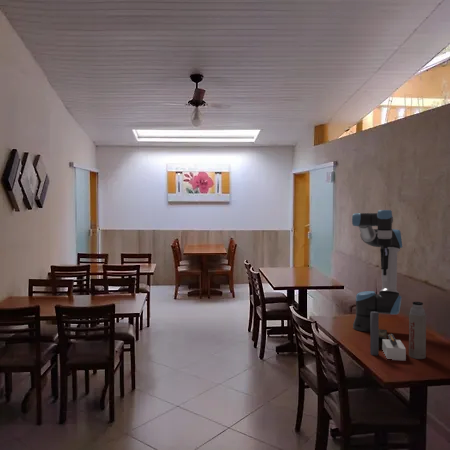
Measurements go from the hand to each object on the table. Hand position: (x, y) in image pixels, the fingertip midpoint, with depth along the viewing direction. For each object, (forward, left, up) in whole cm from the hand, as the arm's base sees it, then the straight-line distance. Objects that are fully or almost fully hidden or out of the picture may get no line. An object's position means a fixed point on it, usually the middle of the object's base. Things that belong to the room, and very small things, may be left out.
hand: (384, 280), depth 247 cm
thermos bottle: (+16, +14, -36) cm, 42 cm away
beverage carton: (-4, -2, -37) cm, 37 cm away
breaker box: (+16, +2, -36) cm, 40 cm away
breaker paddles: (+16, +2, -30) cm, 34 cm away
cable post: (+16, -7, -36) cm, 40 cm away
